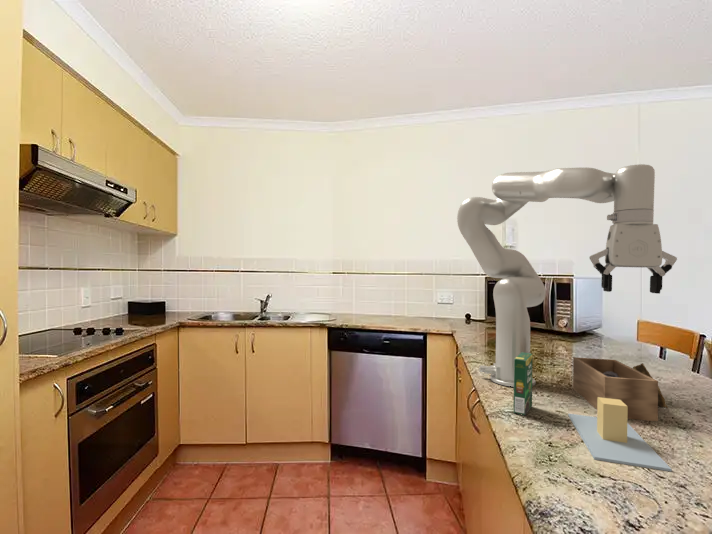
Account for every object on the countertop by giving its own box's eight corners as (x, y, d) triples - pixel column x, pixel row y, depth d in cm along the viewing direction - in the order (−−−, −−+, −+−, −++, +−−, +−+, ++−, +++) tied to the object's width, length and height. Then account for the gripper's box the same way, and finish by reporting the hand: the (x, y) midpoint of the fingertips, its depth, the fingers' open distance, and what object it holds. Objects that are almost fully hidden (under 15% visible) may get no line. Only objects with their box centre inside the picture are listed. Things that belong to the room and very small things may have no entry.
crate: (604, 416, 85) (605, 377, 85) (572, 388, 105) (573, 357, 105) (657, 421, 83) (658, 381, 83) (614, 392, 103) (615, 359, 103)
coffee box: (525, 417, 84) (526, 359, 84) (512, 414, 86) (513, 357, 86) (533, 406, 91) (533, 353, 91) (520, 404, 92) (521, 351, 93)
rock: (618, 381, 106) (614, 384, 98) (641, 360, 103) (639, 361, 96) (656, 412, 100) (655, 418, 92) (682, 391, 97) (683, 395, 89)
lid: (594, 462, 66) (594, 417, 66) (568, 417, 86) (568, 383, 86) (671, 475, 62) (672, 427, 62) (625, 425, 82) (625, 389, 82)
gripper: (597, 217, 85) (595, 291, 85) (686, 216, 81) (684, 295, 81) (585, 221, 93) (584, 289, 93) (667, 221, 88) (665, 292, 88)
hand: (630, 292), depth 87 cm, fingers open, 9 cm apart
